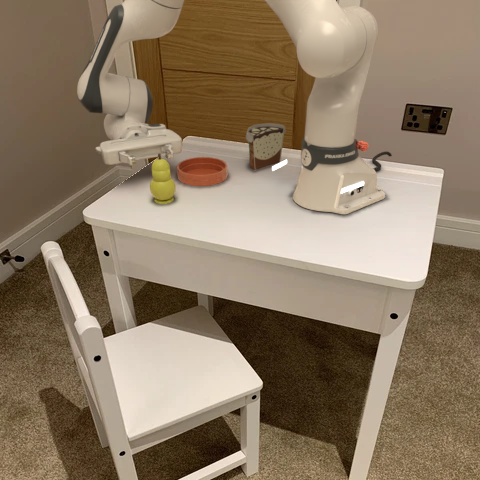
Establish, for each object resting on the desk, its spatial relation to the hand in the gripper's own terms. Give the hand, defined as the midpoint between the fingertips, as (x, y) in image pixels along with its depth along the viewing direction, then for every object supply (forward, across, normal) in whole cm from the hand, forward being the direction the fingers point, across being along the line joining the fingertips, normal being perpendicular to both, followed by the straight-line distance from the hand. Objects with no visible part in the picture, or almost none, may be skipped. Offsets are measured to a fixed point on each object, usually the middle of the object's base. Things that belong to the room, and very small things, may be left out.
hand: (151, 158), depth 117 cm
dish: (-3, +14, +8) cm, 17 cm away
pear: (+6, 0, +8) cm, 10 cm away
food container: (-4, +32, +8) cm, 34 cm away
